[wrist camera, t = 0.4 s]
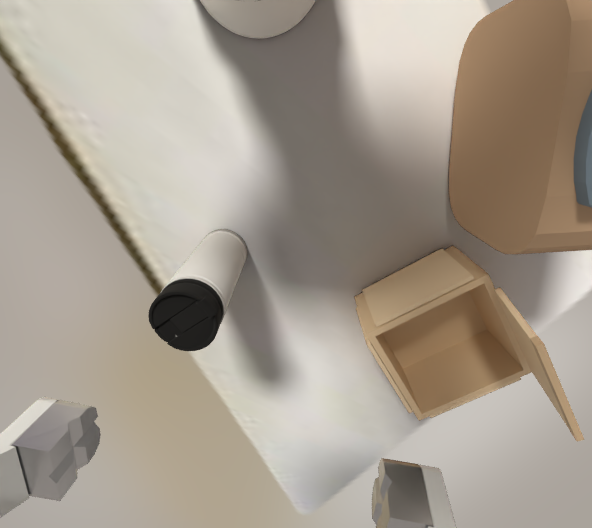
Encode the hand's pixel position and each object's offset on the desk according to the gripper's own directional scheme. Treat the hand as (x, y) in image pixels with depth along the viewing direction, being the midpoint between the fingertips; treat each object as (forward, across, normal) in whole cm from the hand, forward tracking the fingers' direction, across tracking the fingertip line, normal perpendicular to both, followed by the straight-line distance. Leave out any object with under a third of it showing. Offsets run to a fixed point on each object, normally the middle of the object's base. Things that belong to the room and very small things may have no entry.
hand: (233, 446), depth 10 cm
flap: (+32, -24, +12) cm, 42 cm away
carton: (+41, -17, +17) cm, 48 cm away
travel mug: (+38, +12, +10) cm, 42 cm away
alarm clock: (+43, -19, -9) cm, 48 cm away
